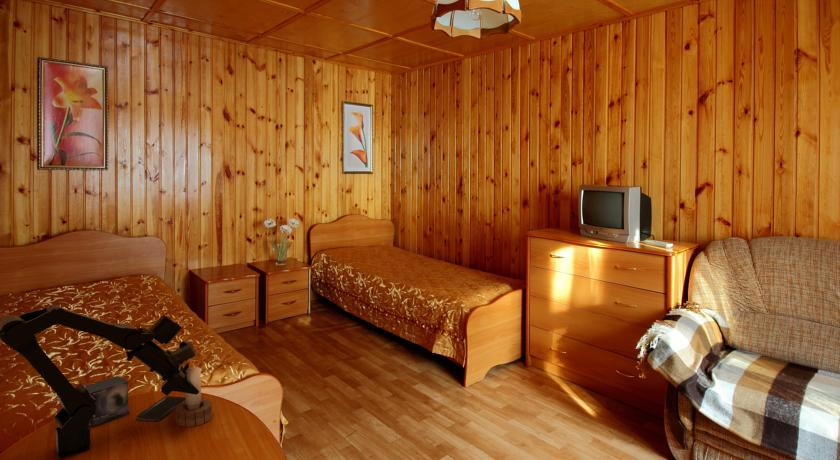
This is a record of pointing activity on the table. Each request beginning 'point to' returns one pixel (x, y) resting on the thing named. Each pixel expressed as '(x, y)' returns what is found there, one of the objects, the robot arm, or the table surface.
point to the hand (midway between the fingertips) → (198, 390)
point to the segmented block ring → (193, 414)
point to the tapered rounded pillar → (195, 379)
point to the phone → (160, 409)
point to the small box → (109, 399)
